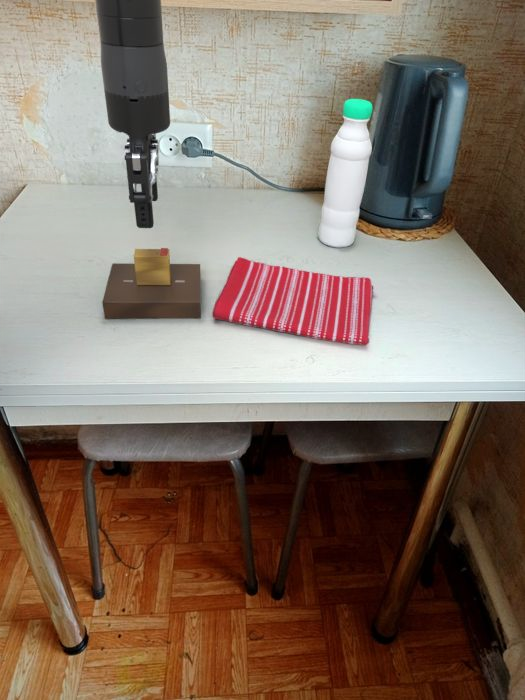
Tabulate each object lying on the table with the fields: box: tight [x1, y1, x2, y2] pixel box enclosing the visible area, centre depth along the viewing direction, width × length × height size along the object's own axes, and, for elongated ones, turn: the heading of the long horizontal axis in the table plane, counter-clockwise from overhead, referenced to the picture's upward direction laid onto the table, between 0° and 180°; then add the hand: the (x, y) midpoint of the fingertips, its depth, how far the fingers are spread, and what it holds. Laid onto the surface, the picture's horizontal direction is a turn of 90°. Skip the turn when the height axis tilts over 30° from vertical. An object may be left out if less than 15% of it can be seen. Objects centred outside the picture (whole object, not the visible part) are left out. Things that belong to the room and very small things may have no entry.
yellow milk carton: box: [133, 247, 171, 285], centre depth 76 cm, size 5×2×5 cm, turn 95°
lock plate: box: [101, 262, 202, 320], centre depth 79 cm, size 14×11×3 cm
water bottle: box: [317, 98, 373, 249], centre depth 91 cm, size 7×7×25 cm
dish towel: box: [211, 256, 374, 346], centre depth 80 cm, size 17×24×3 cm
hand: (148, 213), depth 71 cm, fingers open, 8 cm apart
